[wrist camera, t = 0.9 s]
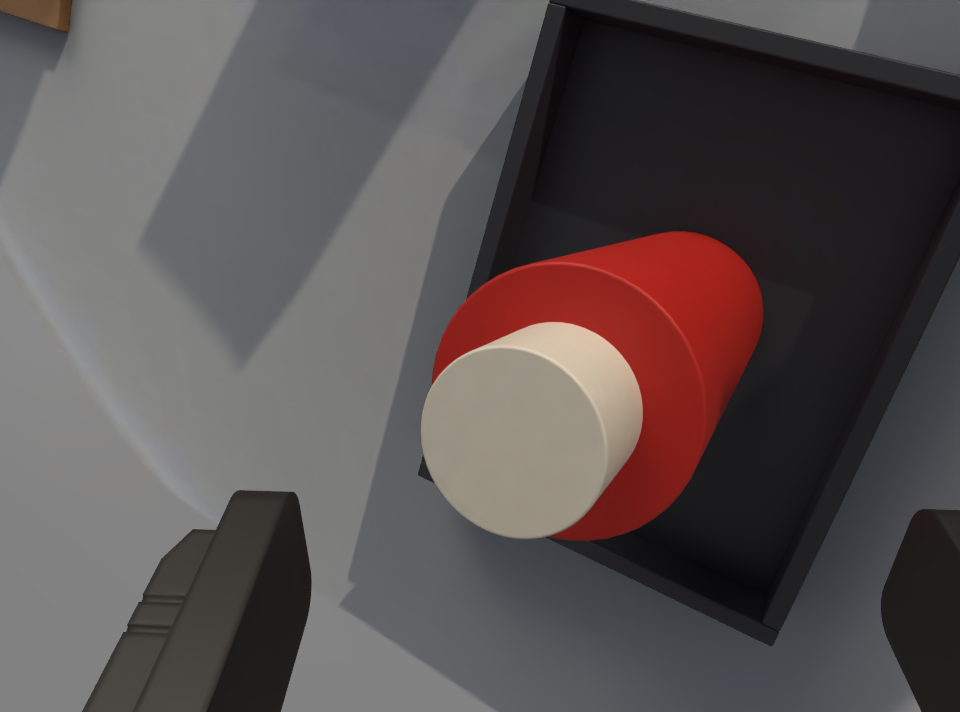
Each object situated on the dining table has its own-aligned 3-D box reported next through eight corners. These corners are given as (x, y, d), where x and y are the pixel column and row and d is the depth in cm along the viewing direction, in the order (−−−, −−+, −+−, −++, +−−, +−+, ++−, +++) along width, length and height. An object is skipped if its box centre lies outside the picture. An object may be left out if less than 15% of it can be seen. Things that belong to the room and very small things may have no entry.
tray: (777, 609, 27) (771, 647, 24) (446, 455, 31) (416, 475, 29) (1016, 103, 21) (1038, 92, 19) (578, -1, 26) (553, -20, 23)
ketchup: (727, 417, 26) (612, 662, 12) (577, 358, 27) (334, 516, 14) (790, 262, 24) (739, 350, 11) (627, 209, 26) (404, 227, 12)
